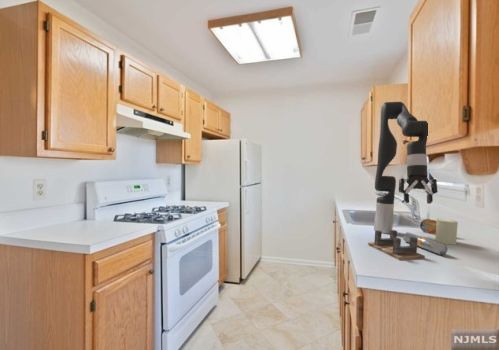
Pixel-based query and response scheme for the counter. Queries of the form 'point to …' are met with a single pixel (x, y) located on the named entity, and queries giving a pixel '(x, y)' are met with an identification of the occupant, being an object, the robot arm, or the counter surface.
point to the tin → (428, 226)
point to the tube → (427, 244)
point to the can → (446, 231)
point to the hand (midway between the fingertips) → (418, 203)
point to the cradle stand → (396, 246)
